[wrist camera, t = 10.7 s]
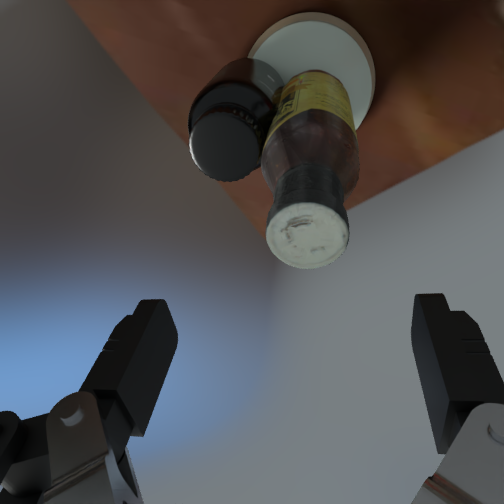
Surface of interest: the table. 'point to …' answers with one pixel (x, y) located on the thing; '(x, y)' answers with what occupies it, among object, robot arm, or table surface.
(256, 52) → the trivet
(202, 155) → the supplement bottle
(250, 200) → the table surface
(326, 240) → the sauce bottle
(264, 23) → the table surface
